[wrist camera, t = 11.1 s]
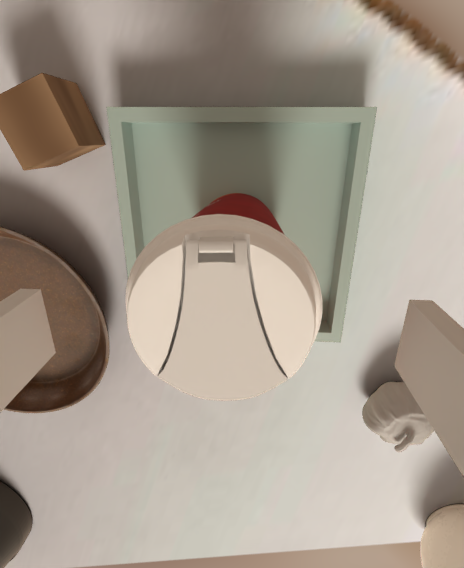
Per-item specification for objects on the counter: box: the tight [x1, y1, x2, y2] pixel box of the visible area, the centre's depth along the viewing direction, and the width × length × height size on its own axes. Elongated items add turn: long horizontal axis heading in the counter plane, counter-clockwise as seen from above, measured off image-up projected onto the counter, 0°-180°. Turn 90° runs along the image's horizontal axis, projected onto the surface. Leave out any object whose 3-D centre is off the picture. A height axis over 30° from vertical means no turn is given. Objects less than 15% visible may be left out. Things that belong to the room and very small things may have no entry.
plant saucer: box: [0, 227, 109, 413], centre depth 28 cm, size 18×18×3 cm
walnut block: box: [0, 73, 105, 170], centre depth 22 cm, size 4×4×4 cm
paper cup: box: [125, 193, 322, 401], centre depth 18 cm, size 8×8×14 cm
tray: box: [107, 107, 377, 342], centre depth 24 cm, size 16×16×2 cm
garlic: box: [362, 382, 434, 452], centre depth 28 cm, size 6×5×5 cm
